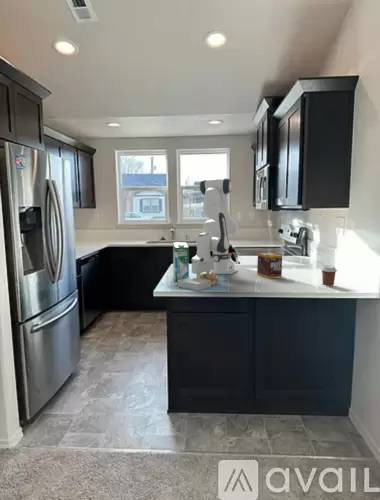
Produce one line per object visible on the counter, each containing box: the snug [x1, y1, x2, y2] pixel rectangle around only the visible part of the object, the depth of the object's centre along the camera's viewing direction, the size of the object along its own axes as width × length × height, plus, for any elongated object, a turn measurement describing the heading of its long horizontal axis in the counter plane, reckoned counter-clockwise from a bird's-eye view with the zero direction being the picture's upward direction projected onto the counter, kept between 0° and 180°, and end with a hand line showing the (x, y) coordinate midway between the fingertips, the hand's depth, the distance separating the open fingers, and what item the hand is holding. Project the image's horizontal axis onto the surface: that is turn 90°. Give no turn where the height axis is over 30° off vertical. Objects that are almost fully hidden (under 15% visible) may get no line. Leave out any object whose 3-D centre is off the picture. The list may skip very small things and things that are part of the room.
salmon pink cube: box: [208, 272, 218, 279], centre depth 227 cm, size 4×4×4 cm
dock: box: [177, 276, 212, 292], centre depth 217 cm, size 12×16×4 cm
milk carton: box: [172, 241, 190, 282], centre depth 235 cm, size 9×9×25 cm
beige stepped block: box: [196, 272, 221, 286], centre depth 229 cm, size 6×15×5 cm, turn 51°
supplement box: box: [256, 252, 283, 279], centre depth 248 cm, size 10×15×16 cm
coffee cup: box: [320, 265, 338, 287], centre depth 218 cm, size 9×9×12 cm
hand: (203, 278), depth 231 cm, fingers closed on beige stepped block, 6 cm apart
